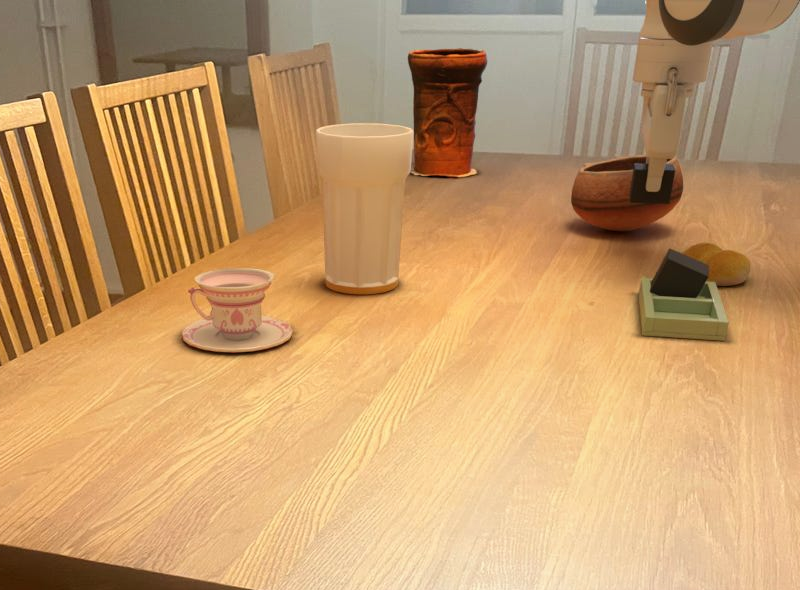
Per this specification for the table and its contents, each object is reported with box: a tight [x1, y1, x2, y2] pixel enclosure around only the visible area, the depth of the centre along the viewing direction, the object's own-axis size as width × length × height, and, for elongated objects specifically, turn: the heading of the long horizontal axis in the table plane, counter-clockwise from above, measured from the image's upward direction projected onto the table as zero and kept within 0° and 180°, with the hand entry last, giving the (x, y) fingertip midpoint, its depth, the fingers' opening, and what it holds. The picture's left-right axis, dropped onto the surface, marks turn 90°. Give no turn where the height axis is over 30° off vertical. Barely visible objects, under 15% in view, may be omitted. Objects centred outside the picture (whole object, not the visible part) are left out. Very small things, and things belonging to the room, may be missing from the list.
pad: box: [650, 247, 709, 298], centre depth 111 cm, size 5×5×4 cm
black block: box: [629, 163, 675, 204], centre depth 127 cm, size 5×5×4 cm
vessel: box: [407, 47, 488, 178], centre depth 179 cm, size 14×14×20 cm
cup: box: [315, 122, 414, 296], centre depth 116 cm, size 11×11×17 cm
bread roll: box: [681, 242, 751, 287], centre depth 121 cm, size 8×9×4 cm
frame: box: [637, 277, 730, 342], centre depth 109 cm, size 8×16×2 cm, turn 166°
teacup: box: [181, 267, 294, 353], centre depth 103 cm, size 12×12×6 cm
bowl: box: [570, 154, 684, 232], centre depth 142 cm, size 16×16×10 cm
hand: (651, 186), depth 127 cm, fingers closed on black block, 5 cm apart
